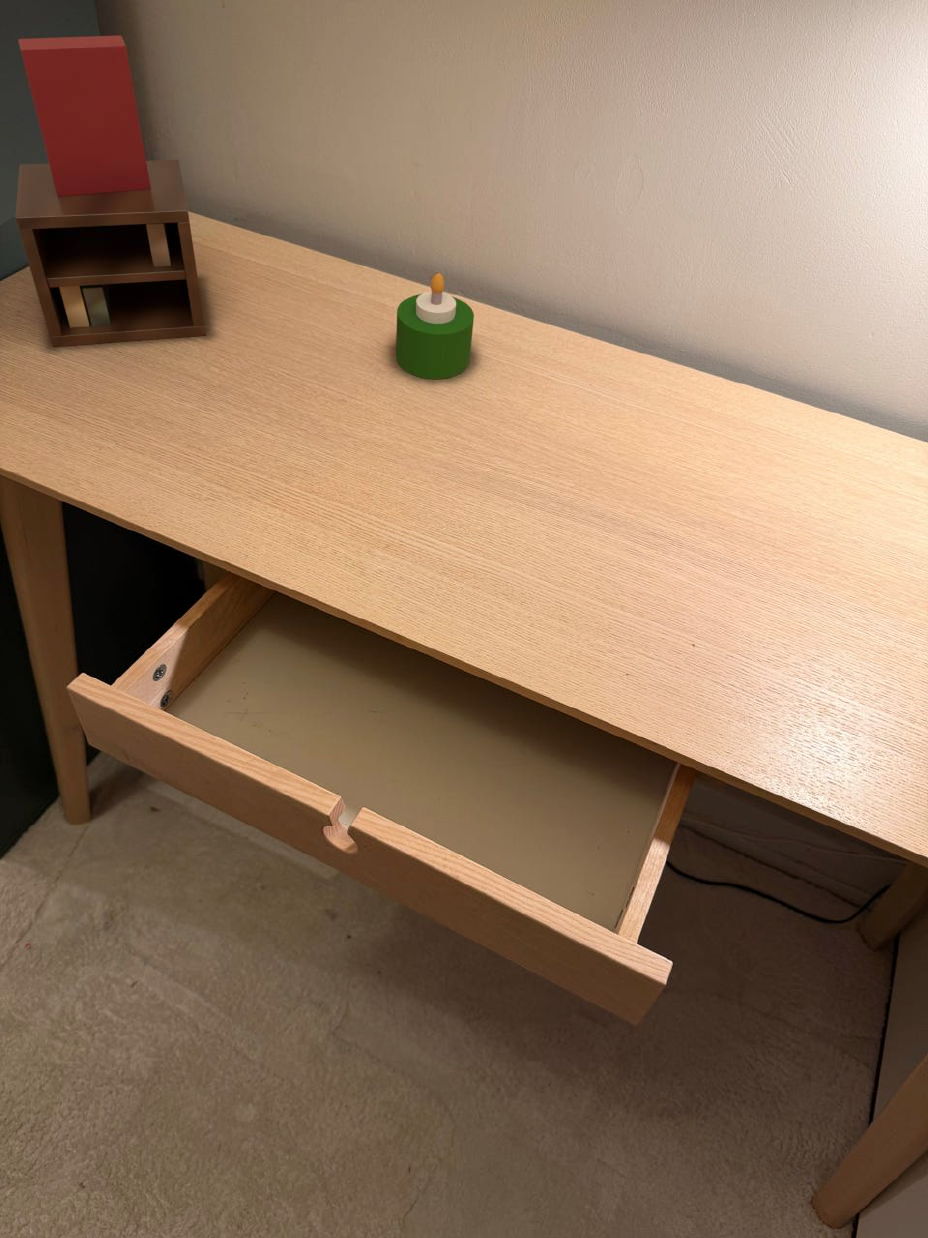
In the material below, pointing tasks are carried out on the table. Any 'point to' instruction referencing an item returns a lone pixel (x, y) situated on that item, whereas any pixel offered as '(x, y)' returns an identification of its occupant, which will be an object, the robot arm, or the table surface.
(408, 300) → the candle
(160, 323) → the bookshelf
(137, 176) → the book
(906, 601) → the table surface
